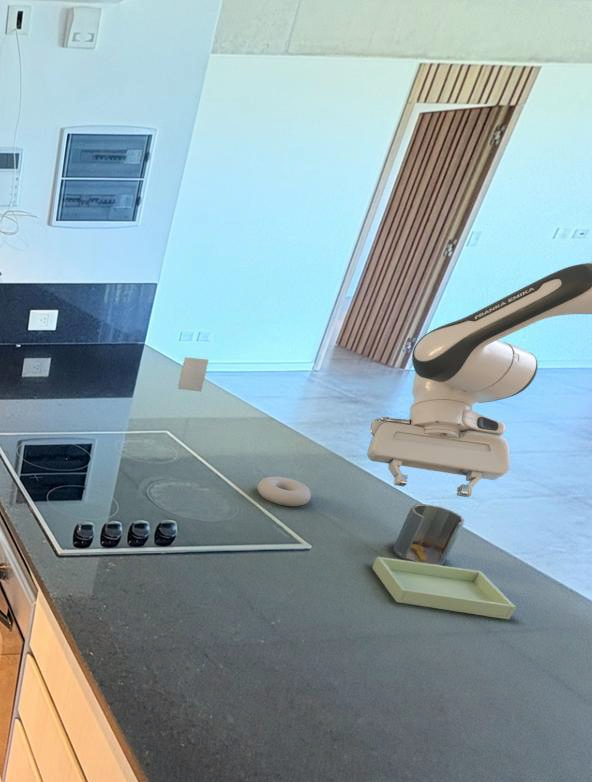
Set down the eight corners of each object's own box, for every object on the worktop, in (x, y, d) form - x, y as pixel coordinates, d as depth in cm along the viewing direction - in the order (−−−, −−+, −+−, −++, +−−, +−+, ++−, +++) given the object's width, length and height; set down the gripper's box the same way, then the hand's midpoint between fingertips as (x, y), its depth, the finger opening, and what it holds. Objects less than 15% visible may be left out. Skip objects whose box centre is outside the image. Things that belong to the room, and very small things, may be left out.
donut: (315, 499, 134) (266, 482, 140) (320, 485, 132) (270, 469, 139) (298, 514, 128) (247, 496, 135) (303, 500, 126) (252, 482, 133)
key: (408, 545, 116) (409, 543, 116) (423, 548, 115) (424, 545, 115) (414, 558, 112) (415, 556, 112) (430, 561, 111) (431, 559, 111)
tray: (474, 582, 107) (480, 570, 105) (509, 619, 98) (516, 607, 97) (371, 567, 111) (377, 556, 109) (396, 602, 102) (402, 589, 101)
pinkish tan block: (201, 391, 198) (208, 361, 193) (178, 388, 200) (185, 358, 196) (200, 388, 201) (208, 358, 196) (178, 385, 203) (184, 356, 199)
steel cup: (389, 541, 118) (407, 501, 114) (436, 551, 115) (457, 509, 111) (397, 560, 113) (417, 518, 108) (448, 571, 110) (469, 528, 106)
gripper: (378, 408, 119) (369, 473, 116) (517, 425, 111) (512, 496, 108) (366, 422, 125) (357, 484, 122) (497, 439, 117) (492, 507, 113)
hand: (431, 490), depth 115 cm, fingers open, 8 cm apart
